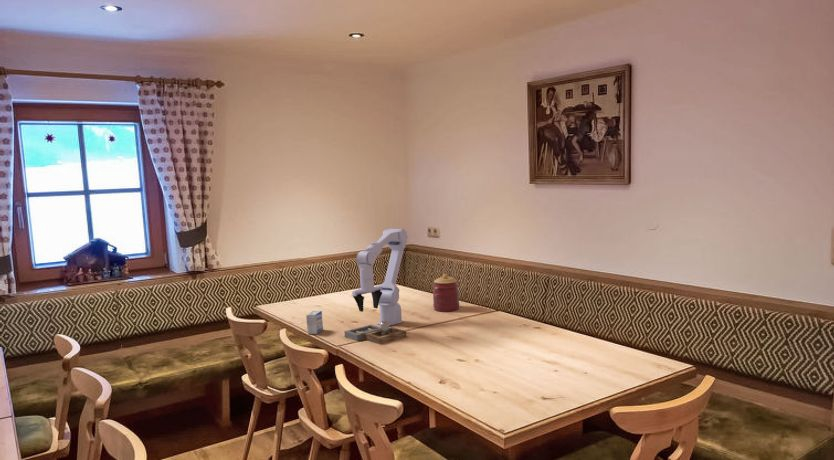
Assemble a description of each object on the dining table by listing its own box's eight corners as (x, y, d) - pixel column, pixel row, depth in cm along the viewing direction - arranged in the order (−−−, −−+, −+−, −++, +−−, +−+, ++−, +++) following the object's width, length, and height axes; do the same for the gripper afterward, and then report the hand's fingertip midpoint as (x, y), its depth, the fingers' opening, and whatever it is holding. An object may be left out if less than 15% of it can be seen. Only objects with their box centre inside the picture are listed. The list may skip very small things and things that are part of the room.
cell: (383, 334, 253) (383, 319, 252) (391, 335, 251) (390, 320, 251) (379, 336, 250) (378, 321, 249) (387, 337, 248) (386, 322, 248)
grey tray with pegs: (371, 329, 265) (371, 323, 264) (384, 333, 257) (383, 326, 257) (344, 336, 256) (344, 329, 255) (357, 340, 248) (356, 333, 248)
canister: (464, 307, 299) (462, 272, 297) (451, 313, 288) (450, 276, 286) (441, 305, 306) (440, 270, 304) (428, 310, 295) (426, 275, 293)
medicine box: (316, 334, 261) (315, 315, 261) (307, 334, 262) (306, 314, 261) (323, 329, 269) (322, 310, 268) (313, 329, 270) (312, 310, 269)
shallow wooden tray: (392, 332, 259) (391, 326, 259) (406, 336, 251) (406, 331, 251) (365, 339, 250) (364, 333, 250) (379, 344, 242) (378, 338, 242)
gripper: (375, 275, 267) (376, 305, 268) (347, 280, 257) (349, 311, 259) (384, 277, 261) (386, 307, 263) (356, 282, 252) (358, 313, 253)
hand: (368, 309), depth 260 cm, fingers open, 7 cm apart
